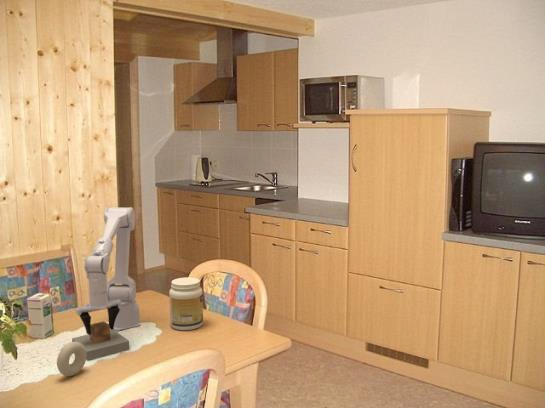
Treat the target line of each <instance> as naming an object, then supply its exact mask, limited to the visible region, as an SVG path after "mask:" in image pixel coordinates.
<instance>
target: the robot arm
mask: <svg viewBox="0 0 545 408" xmlns="http://www.w3.org/2000/svg"><path fill="white" fill-rule="evenodd" d="M134 209H135V208H133V207H132V206H130V207H117V206H116V207H112V206H111V207H110V206H107V207H106V208H105V209H104V211H103V220H104V224H105V225H104V228H103V232H102V235H101V237H99V238H98V239H97V240H96V242H95V245H94V247H93V250H92V252H91V255H89V256H86V259H85V260H84V267H83V268H84V271H85V275H86V279H88V295H89V296H88V298H89V303H88V304H85V305H82V306H80V307H75V313H76V315H77V316H79V318H80V319H81V321H82V323H83V325H84V329H85V332H86V335H91V326H90V324H92V323H91V321H92V320H91V319H92V316H91V315H90V313H92V312H97V311H98V312H99V311H102V310H107V316H108V324H109V325H110V329H111V330H112V329H114V330H115V331H116V332H118V331H122V330H126V329H131V328H134V327H138V326H139V327H140V326H141V321H140V305H139V303H138V301H137V300H136V298H137V287H136V286H137V285H136V284H137V283H136V281H135V280H134V279H133V278H132V277H131V276H129V264H130V263H129V262H130V245H131V243H130V242H131V240H130V239H131V231H134V230H135V227H136V213H135V210H134ZM115 236H116V237H115ZM114 238H116V239H115V244H114V242H113V240H114ZM114 245H115V256H114V257H115V258H114V259H115V260H114V263H115V264H114V276H113V277H112V278H111V279H108V278H107V277H108V274H107V273H108V271H109V269H110V262H111V258H110V257H111V253H112V251H113V249H114Z"/></svg>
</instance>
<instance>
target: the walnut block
mask: <svg viewBox="0 0 545 408" xmlns="http://www.w3.org/2000/svg"><path fill="white" fill-rule="evenodd" d="M90 326H91V335H90V339H91V340H92V341H93V342H94V343H100V342H104V341H108V340H110V325H109V323H107V322H106V321H99V322H94V323H90Z"/></svg>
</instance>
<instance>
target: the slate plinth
mask: <svg viewBox="0 0 545 408" xmlns="http://www.w3.org/2000/svg"><path fill="white" fill-rule="evenodd" d="M71 342H79V343H81V344H82V345H83V346H84V347H85V349H86V353H87V355H86V362H87V361H92V360H96V359H99V358H102V357H107V356H111V355H114V354H118V353H122V352H126V351H129V350H130V349H131V347H130V340H129V339H127V338H126V337H125V336H123V335H122V334H121V333H119V332H118V331H116V330H114V329H112V330H111V329H110V340H108V341H104V342H100V343H94V342H93V341H92V340H91V339H90V335H88V334H84V335H80V336H76V337H72V338H71Z"/></svg>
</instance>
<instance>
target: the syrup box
mask: <svg viewBox="0 0 545 408" xmlns="http://www.w3.org/2000/svg"><path fill="white" fill-rule="evenodd" d="M26 301H27V313H28V321H29V320H30V321H31V323H32V324H33V326H30V325H29V324H28V328H29V337H30V338H33V339H44V340H45V339H46V338H47V337H49V336H50V335H52V334H54V332H55V330H54V329H55V328H54V327H55V326H54V317H53V316H54V315H53V305H52V294H51V293H44V292H43V293H36V294H34V295H32V296H30V297H27V298H26Z"/></svg>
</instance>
